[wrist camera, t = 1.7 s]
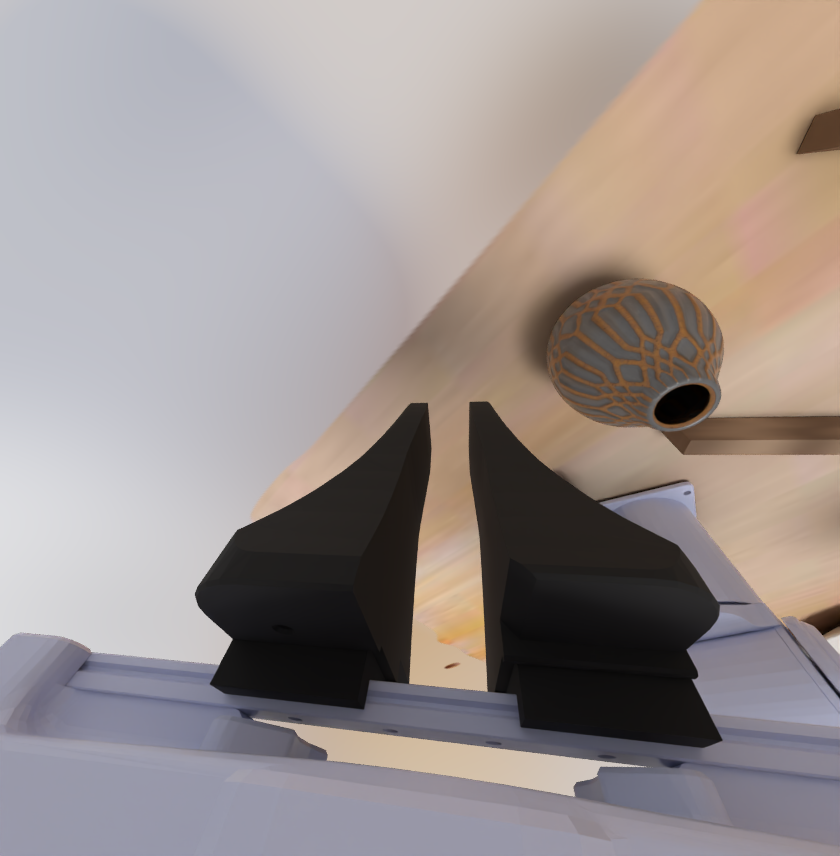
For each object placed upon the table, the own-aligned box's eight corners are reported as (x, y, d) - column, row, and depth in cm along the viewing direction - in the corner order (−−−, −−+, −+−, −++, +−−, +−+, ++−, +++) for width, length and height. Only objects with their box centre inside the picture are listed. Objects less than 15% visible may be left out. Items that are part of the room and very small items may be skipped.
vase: (515, 321, 18) (554, 388, 11) (637, 238, 15) (795, 259, 8) (562, 400, 21) (617, 493, 14) (673, 343, 18) (814, 426, 11)
